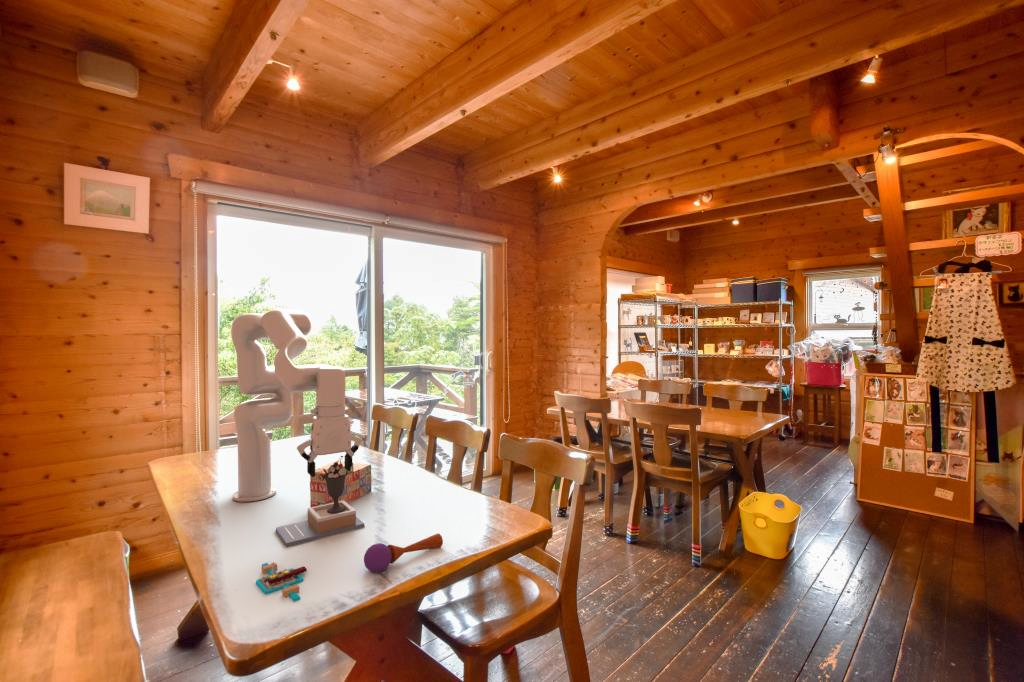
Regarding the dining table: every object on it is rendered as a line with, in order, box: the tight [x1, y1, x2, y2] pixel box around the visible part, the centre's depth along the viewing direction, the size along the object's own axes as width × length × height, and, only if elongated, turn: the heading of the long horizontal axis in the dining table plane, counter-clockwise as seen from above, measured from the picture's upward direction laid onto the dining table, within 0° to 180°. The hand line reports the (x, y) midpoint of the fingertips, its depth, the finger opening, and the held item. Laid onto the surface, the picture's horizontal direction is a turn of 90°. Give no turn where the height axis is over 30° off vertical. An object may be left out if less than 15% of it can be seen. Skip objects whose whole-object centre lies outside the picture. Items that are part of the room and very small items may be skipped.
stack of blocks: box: [309, 460, 373, 508], centre depth 153 cm, size 21×6×12 cm, turn 159°
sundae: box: [322, 455, 348, 514], centre depth 133 cm, size 7×7×15 cm
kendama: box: [363, 533, 444, 573], centre depth 113 cm, size 6×6×20 cm
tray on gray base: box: [275, 500, 365, 548], centre depth 130 cm, size 12×20×5 cm, turn 128°
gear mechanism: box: [255, 561, 308, 603], centre depth 103 cm, size 20×5×9 cm
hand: (330, 472), depth 132 cm, fingers open, 9 cm apart
